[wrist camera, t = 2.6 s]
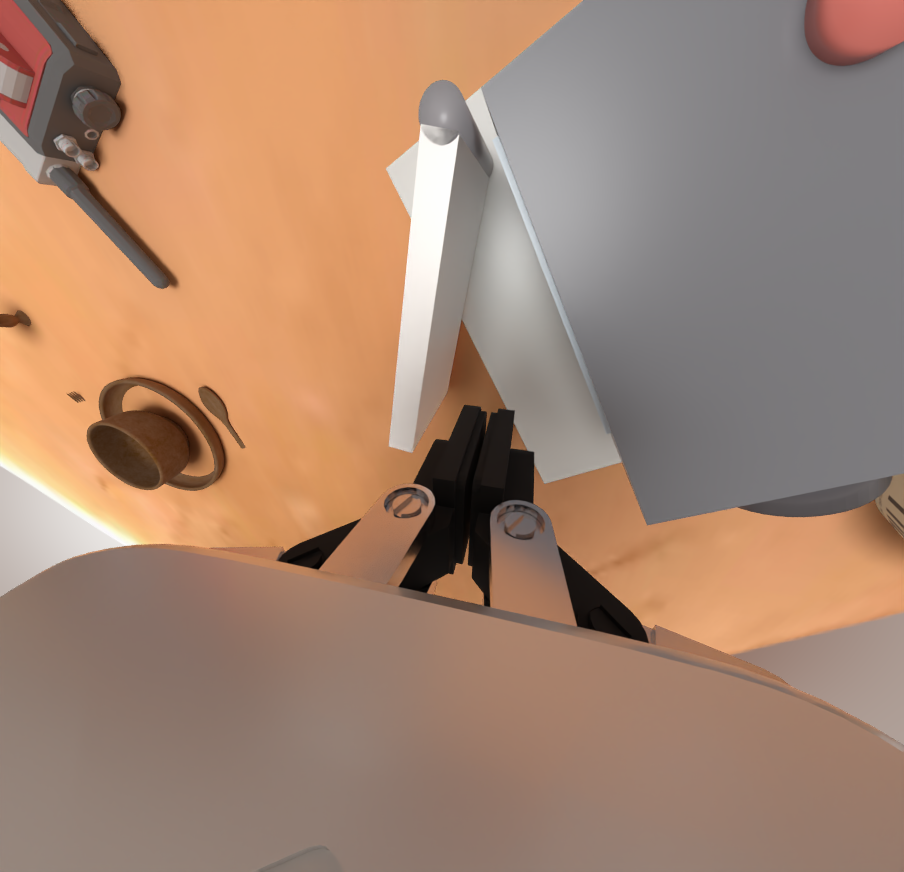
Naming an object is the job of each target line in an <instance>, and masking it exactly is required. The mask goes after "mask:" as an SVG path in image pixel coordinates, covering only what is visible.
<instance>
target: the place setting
mask: <svg viewBox="0 0 904 872" xmlns="http://www.w3.org/2000/svg"><path fill="white" fill-rule="evenodd" d="M18 323H23V324H25V325H28V326H30V325H31V321H30V319H29V317H28V316H27V315H26V314H25V313H24V312H22V311H19V310H18V311H17V313H16V314H15V316H13V315H8V314H0V327H14V326H16V325H17V324H18ZM138 385H139V386H142V387H145V388H148V389H150V390H153V391H155V392H157V393H158V394H160V395H162V396H164V397H165V398H167V399H168V400H170V401H171V402H172V403H174V404H175V405H177V406H178V407H179V408H180V409H181V410H182V411H183V412H185V413H186V414H187V415H188V416H189V417H190V418H191V420H192V421H193V422H194V423H195V424H196V425H197V427H198V428H199V429H200V431H201V432H202V434H203V435H204V437H205V438H206V440H207V442H208V444H209V446H210V448H211V451H212V454H213V458H214V465H215V468H214V471H213V472H212V473H211V474H209V475H206V476H201V477H195V476H189V475H185V474H182V473H180V472H181V471H182V470H183V469H184V468H185V467H186V465H187V463H188V460H189V450H188V447H189V442H188V438H187V436H186V434H185V433H184V431H183V430H182V429H181V428H180V427H179V426H178V425H177V424H176V423H174V422H173V421H171V420H170V419H167V418H165V417H160V416H158V415H155V414H153V413H149V412H145V411H127V412H123V410H122V400H123V396H124V394H125V393H126V392H127V390H129V389H130V388H132V387H134V386H138ZM73 392H74V391H73ZM71 393H72V392H71ZM71 393H69V394H70V395H69V394H67V395H69V396H70V397H71V398H72V399H74V400H75V401H76V402H78V401H79V402H81V401H82V402H83V400H84V401H85V399H84V398H83V397H81V396H80V395H79V394H77V393H76V392H74V393H75V394H76V395H75V394H74V393H72V394H73V395H72V394H71ZM71 395H72V396H73V397H74V398H73V397H72V396H71ZM74 395H75V396H76V397H75V396H74ZM77 395H78V396H79V397H78V396H77ZM199 395H200V398H201V400H202V402H203V404H204V406H205V407H206V408H207V409H208V410H209V411H210V412H211V413H212V414H213V415H215V416H216V417H217V418H219V419H220V420H221V421H222V422H223V424H224V425H225V426H226V427H227V429H228V430H229V431H230V433H231V434H232V436H233V437H234V438H235V440H236V441H237V443H238V444H239V445H240V447H241V448H245V445H244V444H243V442H242V441H241V439H240V438H239V436H238V435H237V433H236V432H235V431H234V429H233V428H232V426H231V425H230V423H229V421H228V415H227V410H226V408H225V406H224V404H223V403H222V401H221V400H220V399H219V398H218V397H217V396H216V395H215V394H214V393H213V392H212V391H211V390H209V389H207V388H205V387H200V388H199ZM78 398H79V399H80V400H81V401H80V400H79V399H78ZM81 398H82V399H83V400H82V399H81ZM76 399H77V400H78V401H77V400H76ZM79 402H78V403H79ZM99 410H100V414H101V418H102V420H101V421H99V422H96V423H94V424H92V425H90V427H89V428H88V430H87V441H88V444H89V447H90V449H91V451H92V452H93V454H94V455H95V457H96V458H97V460H98V461H99V462H100V463H101V464H102V465H103V466H104V467H105V468H106V469H107V470H108V471H109V472H110V473H111V474H113V475H114V476H115V477H117V478H118V479H120V480H121V481H123V482H125V483H126V484H128V485H130V486H133V487H135V488H139V489H143V490H154V489H157V488H158V487H160V486H162V485H163V484H167V485H169V486H172V487H175V488H178V489H183V490H190V491H197V490H202V489H205V488H207V487H209V486H210V485H211V484H213V483H214V482H215V481H216V480H217V479H218V477H219V476H220V474H221V472H222V469H223V465H224V453H223V449H222V445H221V442H220V440H219V438H218V436H217V434H216V432H215V430H214V429H213V427H212V425H211V424H210V423H209V421H208V420H207V419H206V418H205V416H204V415H203V414H202V413H201V412H200V411H199V410H198V409H197V408H196V407H195V406H194V405H193V404H192V403H191V402H190V401H188V400H187V399H186V398H184V397H183V396H182V395H180V394H179V393H177V392H176V391H174V390H172V389H170V388H169V387H167V386H164V385H162V384H160V383H157V382H154V381H150V380H146V379H140V378H127V379H121V380H117V381H114V382H111V383H109V384H108V385H106V386H105V387H104V388H103V390H102V391H101V394H100V397H99Z"/></svg>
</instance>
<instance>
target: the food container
mask: <svg viewBox="0 0 904 872" xmlns="http://www.w3.org/2000/svg"><path fill="white" fill-rule="evenodd" d="M875 502H876V505H877V508H878V509H879V511H880V512H881V514H882V515H883V516H884V517H885V518H886V519H887V521H888V522H889V523H890V524H891V525H892V526H893V527H894V529H895V530H896V531H897V532H898V533H899V534H900V535H901V536H902V538H903V539H904V474H899V475H894V476H893V478H892V481H891V484H890V486H889V487H888V488H887V490H886V491H885V492H884V493H883V494H882V495H880V496H879V497H878V498H876V499H875Z"/></svg>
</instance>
